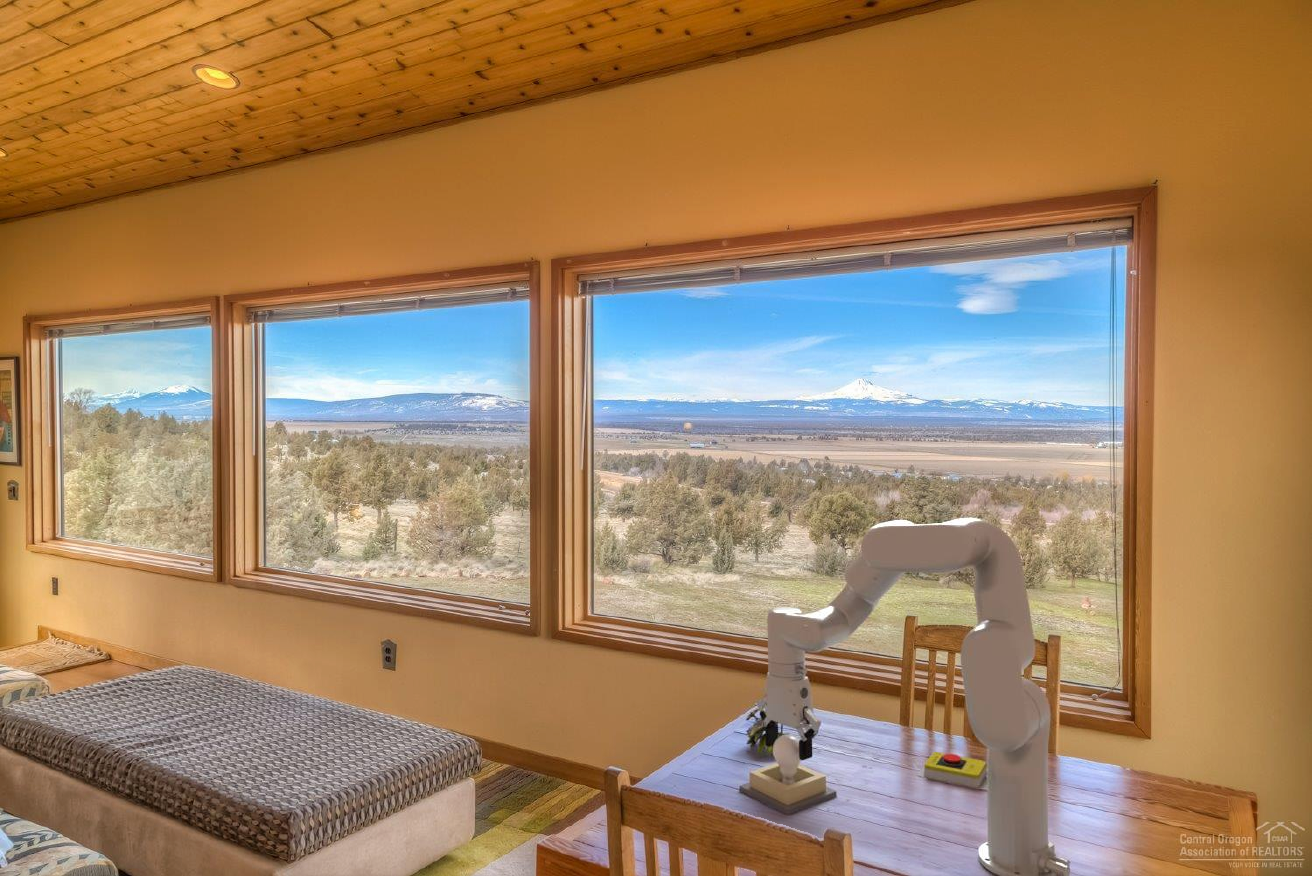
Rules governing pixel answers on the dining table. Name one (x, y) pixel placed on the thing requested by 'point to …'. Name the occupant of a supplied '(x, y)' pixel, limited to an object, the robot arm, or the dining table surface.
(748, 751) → the dining table surface
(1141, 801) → the dining table surface
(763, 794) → the socket block
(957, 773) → the emergency button
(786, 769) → the lightbulb
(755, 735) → the green leafy plant
